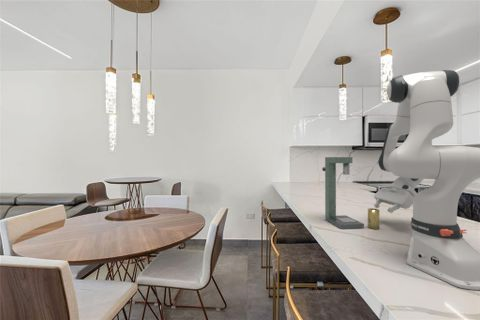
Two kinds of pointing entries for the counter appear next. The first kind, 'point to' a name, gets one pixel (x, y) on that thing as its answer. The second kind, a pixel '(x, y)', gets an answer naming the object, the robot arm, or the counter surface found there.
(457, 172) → the robot arm
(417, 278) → the counter surface
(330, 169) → the press
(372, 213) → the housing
